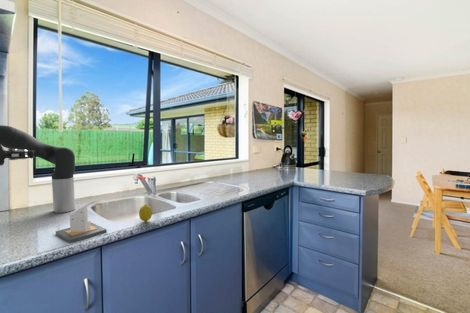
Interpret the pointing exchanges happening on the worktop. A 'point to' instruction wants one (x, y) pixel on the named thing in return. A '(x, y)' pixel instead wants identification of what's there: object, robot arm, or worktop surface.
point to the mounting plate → (80, 233)
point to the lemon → (145, 213)
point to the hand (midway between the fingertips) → (42, 153)
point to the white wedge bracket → (80, 220)
